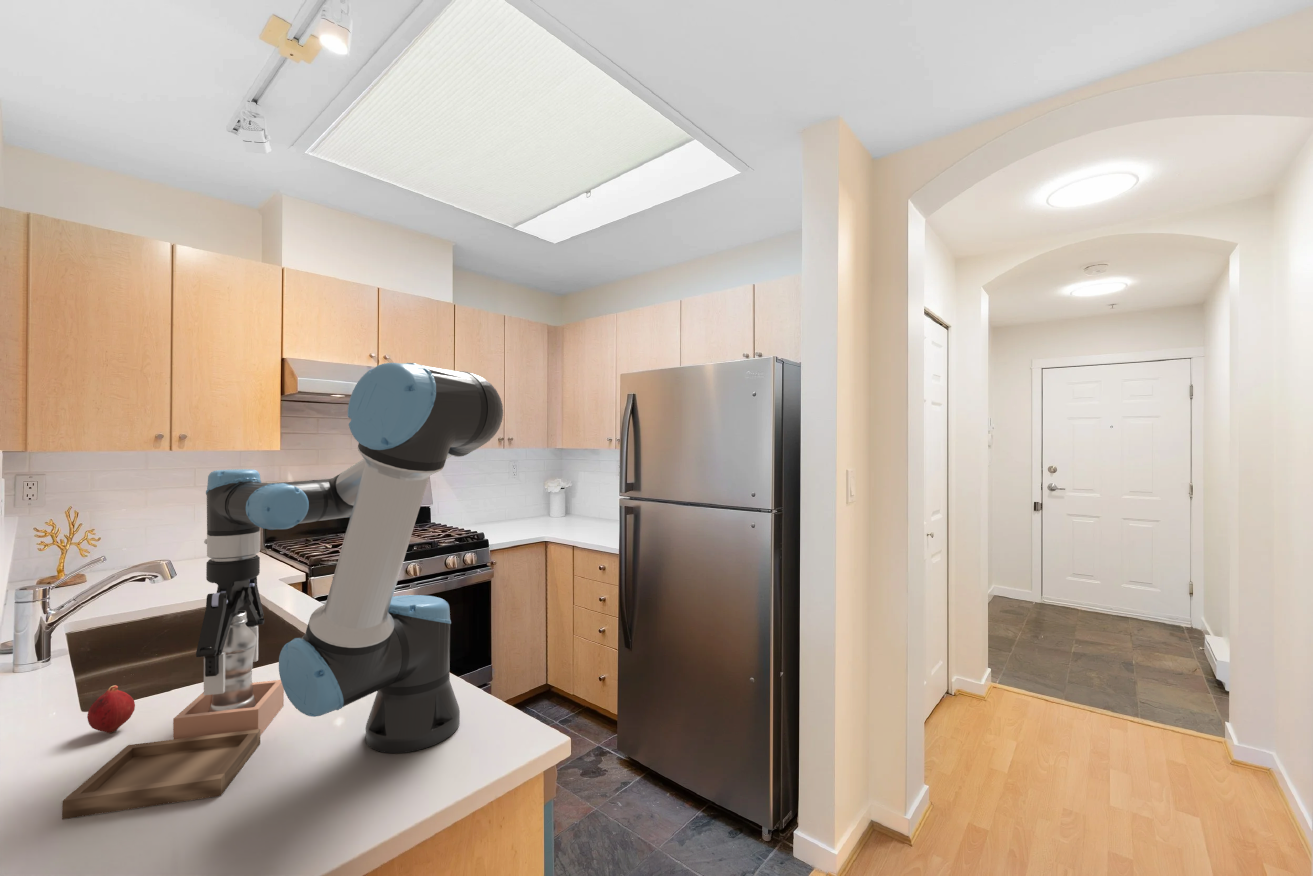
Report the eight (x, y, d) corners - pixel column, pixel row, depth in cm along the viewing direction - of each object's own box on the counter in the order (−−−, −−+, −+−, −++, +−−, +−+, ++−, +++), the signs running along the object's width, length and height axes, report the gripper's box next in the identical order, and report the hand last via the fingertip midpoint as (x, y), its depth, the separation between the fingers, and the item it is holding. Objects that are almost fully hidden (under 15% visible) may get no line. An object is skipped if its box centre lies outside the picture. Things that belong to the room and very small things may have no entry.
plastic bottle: (218, 719, 101) (218, 609, 101) (261, 714, 103) (262, 606, 103) (200, 738, 95) (201, 620, 94) (247, 732, 97) (248, 617, 97)
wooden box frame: (283, 705, 106) (283, 679, 106) (258, 738, 95) (258, 709, 95) (209, 714, 103) (209, 687, 103) (173, 749, 91) (173, 718, 91)
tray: (260, 744, 93) (260, 729, 93) (220, 796, 79) (220, 778, 79) (128, 760, 88) (128, 745, 88) (62, 819, 74) (62, 800, 74)
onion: (104, 743, 93) (104, 695, 93) (77, 739, 94) (78, 692, 94) (143, 725, 98) (143, 680, 98) (117, 722, 100) (117, 677, 100)
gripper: (239, 544, 109) (238, 652, 110) (168, 574, 86) (167, 712, 86) (283, 542, 112) (282, 648, 112) (226, 571, 88) (225, 706, 88)
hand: (232, 676), depth 99 cm, fingers open, 13 cm apart
